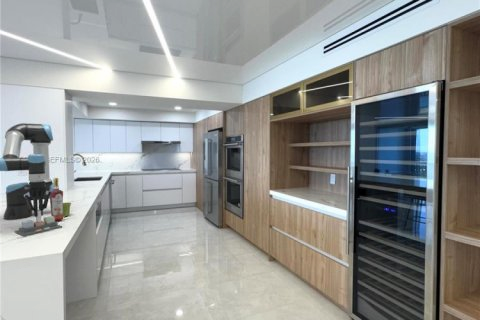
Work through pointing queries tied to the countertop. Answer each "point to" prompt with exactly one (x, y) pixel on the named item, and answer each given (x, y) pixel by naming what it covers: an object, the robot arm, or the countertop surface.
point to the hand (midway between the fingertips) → (38, 221)
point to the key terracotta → (39, 223)
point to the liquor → (56, 201)
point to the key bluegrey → (27, 224)
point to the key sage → (49, 219)
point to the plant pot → (66, 209)
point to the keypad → (38, 229)
